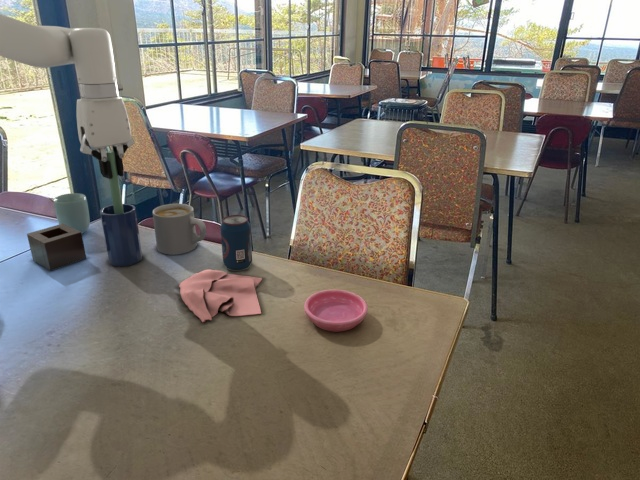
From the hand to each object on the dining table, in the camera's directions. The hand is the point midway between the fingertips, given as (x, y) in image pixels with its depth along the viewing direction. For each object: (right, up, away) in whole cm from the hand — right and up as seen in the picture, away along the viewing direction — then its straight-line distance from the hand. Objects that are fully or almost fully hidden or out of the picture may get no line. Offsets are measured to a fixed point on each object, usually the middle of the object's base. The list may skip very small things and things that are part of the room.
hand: (113, 175), depth 108 cm
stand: (-16, -19, +8) cm, 26 cm away
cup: (-20, -13, +23) cm, 33 cm away
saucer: (+50, -30, -13) cm, 60 cm away
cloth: (+26, -27, -6) cm, 38 cm away
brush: (0, -13, +6) cm, 15 cm away
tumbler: (-1, -19, +8) cm, 21 cm away
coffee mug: (+11, -17, +15) cm, 25 cm away
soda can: (+27, -21, +7) cm, 35 cm away
